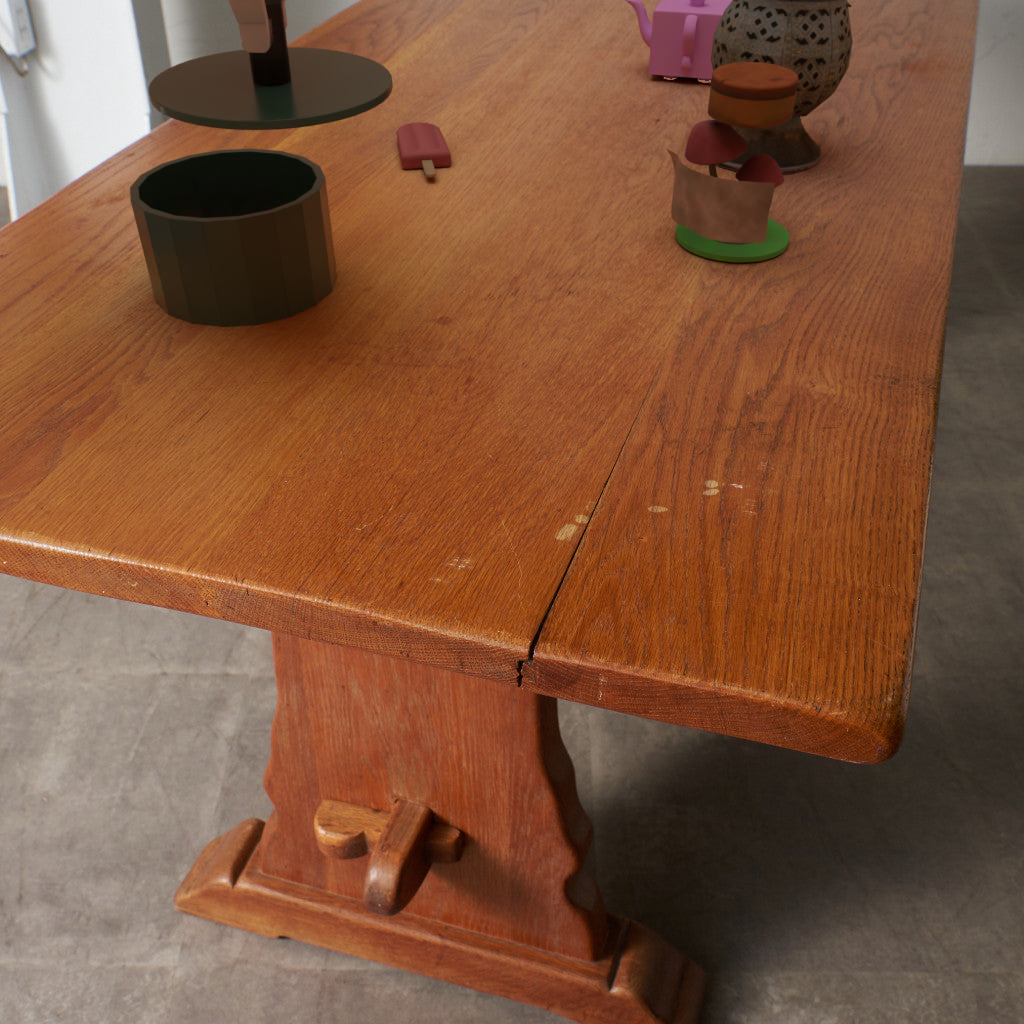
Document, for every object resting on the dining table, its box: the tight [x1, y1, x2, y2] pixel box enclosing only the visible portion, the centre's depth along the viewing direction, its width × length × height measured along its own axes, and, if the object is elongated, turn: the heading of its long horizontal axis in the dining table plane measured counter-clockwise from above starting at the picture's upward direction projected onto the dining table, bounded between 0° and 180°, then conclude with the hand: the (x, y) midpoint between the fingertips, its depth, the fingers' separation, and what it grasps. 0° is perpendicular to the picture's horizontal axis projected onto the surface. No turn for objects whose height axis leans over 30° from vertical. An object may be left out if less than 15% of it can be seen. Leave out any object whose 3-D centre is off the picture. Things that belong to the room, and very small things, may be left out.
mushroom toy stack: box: [666, 62, 799, 263], centre depth 91 cm, size 12×13×15 cm
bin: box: [129, 148, 338, 328], centre depth 85 cm, size 15×16×10 cm
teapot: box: [624, 0, 732, 81], centre depth 134 cm, size 18×14×10 cm
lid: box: [148, 0, 394, 131], centre depth 68 cm, size 16×16×6 cm
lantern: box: [711, 0, 854, 175], centre depth 106 cm, size 14×14×25 cm
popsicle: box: [396, 121, 452, 178], centre depth 112 cm, size 5×2×15 cm
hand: (266, 41), depth 68 cm, fingers closed on lid, 2 cm apart
